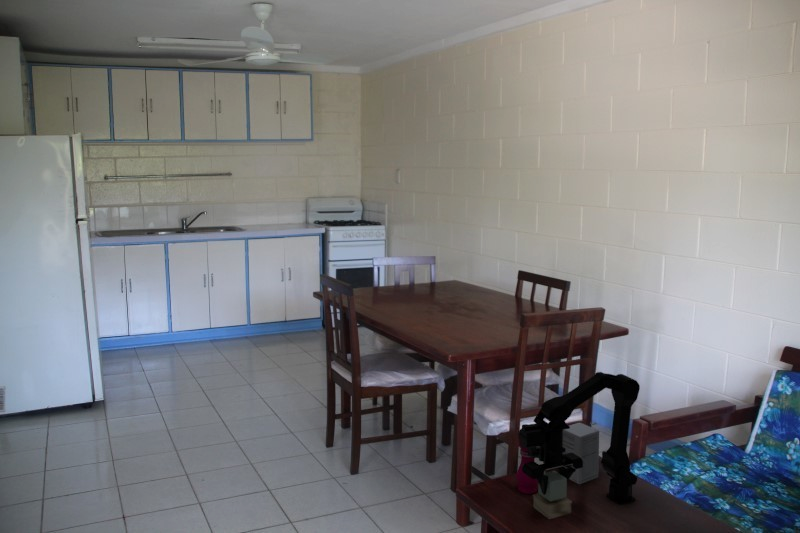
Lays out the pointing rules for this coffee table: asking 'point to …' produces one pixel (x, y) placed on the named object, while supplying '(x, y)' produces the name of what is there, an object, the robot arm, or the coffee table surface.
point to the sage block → (555, 486)
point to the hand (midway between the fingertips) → (552, 491)
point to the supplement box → (583, 450)
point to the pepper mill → (525, 481)
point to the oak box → (552, 506)
